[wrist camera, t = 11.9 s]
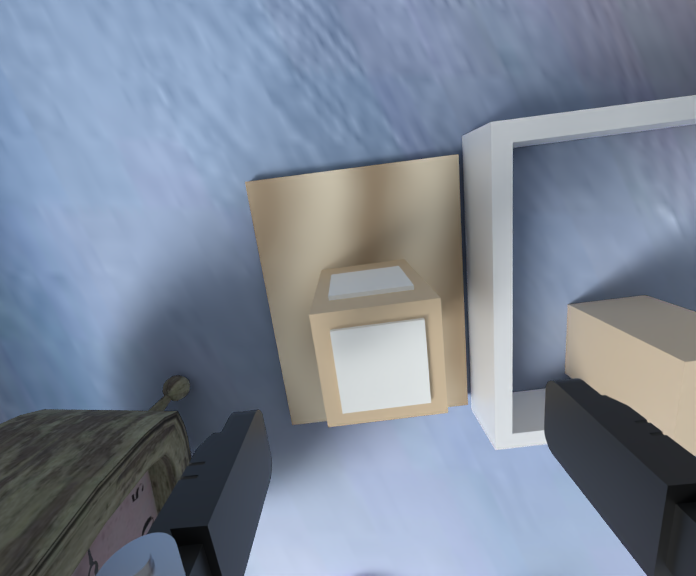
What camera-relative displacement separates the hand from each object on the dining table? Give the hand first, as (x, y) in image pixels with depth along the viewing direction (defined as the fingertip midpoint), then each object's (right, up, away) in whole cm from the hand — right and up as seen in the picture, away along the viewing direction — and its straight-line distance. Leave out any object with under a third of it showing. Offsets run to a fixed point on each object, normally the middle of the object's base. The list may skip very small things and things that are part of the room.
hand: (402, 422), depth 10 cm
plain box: (+15, +1, +13) cm, 21 cm away
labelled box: (0, +3, +12) cm, 12 cm away
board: (0, +3, +12) cm, 13 cm away
